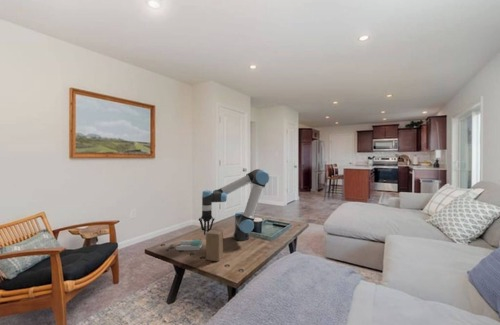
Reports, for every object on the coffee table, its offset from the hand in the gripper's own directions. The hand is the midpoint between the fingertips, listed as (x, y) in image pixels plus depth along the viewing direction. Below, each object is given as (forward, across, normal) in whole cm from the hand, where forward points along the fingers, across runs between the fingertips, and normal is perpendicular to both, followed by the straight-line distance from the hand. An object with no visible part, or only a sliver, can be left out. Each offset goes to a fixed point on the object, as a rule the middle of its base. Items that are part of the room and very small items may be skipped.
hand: (206, 238), depth 184 cm
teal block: (+7, +8, 0) cm, 11 cm away
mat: (+8, +27, 0) cm, 28 cm away
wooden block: (+8, -10, +18) cm, 22 cm away
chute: (+8, +13, 0) cm, 16 cm away
